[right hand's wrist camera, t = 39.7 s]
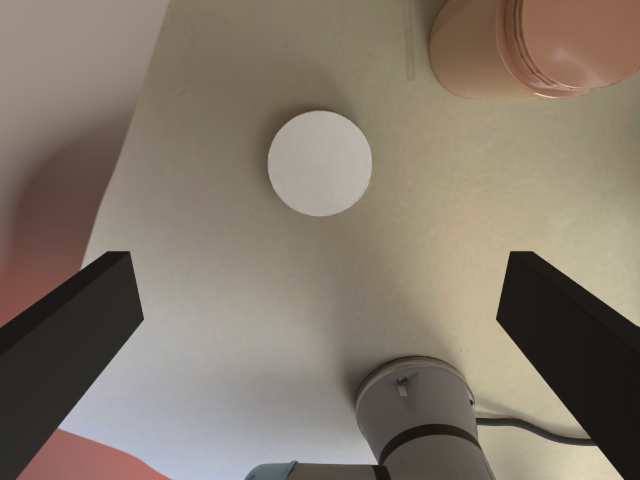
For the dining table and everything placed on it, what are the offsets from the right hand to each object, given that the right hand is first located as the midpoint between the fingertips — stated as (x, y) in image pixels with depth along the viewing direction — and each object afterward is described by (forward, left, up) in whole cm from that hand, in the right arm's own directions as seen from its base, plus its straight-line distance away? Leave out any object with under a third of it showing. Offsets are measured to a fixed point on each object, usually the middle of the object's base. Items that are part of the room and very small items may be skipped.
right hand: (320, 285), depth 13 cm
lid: (0, 0, -24) cm, 24 cm away
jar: (-9, -16, -26) cm, 32 cm away
